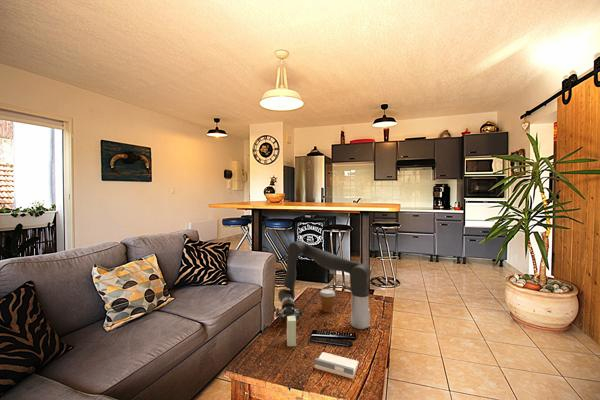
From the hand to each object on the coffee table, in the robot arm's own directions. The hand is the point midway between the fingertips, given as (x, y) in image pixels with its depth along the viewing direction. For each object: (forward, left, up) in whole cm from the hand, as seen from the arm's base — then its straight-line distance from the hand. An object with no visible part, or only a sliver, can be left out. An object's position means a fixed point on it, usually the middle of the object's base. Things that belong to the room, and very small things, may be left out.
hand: (289, 318), depth 144 cm
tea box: (+1, +11, -7) cm, 13 cm away
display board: (-15, +32, -7) cm, 36 cm away
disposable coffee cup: (-27, -23, -7) cm, 36 cm away
